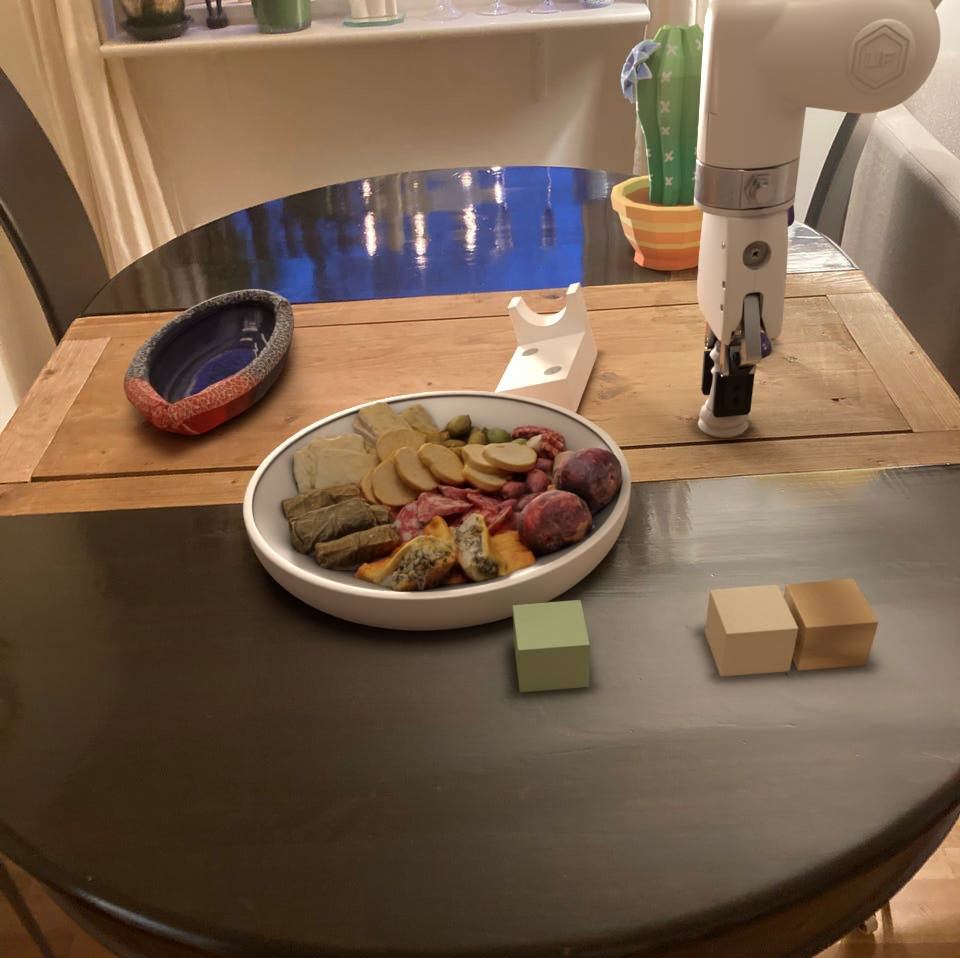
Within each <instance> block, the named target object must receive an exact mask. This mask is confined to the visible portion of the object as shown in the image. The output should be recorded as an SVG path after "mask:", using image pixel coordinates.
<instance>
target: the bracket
mask: <svg viewBox="0 0 960 958" xmlns="http://www.w3.org/2000/svg"><path fill="white" fill-rule="evenodd" d="M565 300H566V304H565V307H564V308H563V309H562V310H561V311H559V312H557V313H555V314H550V315H546V314H545V315H544V314H540V313H537V312H535V311H533V309H531V308H530V307H529V306H527V304H526V302H525V300H524V298H523V296H520V295H519V296H515V297H512V299H511V300H510V302H509V304H508V306H507V307H506V309H507V312H508V315H509V319H510V323H511V325H512V329H513V332H514V335H515V338H516V341H517V345H518V346H517V348H516V350H515V352H514V354H513V356H512V357H511V359H510V362H509V364H508V365H507V367H506V369H505V371H504V373H503V375H502V377H501V378H500V381H499V383H498V385H497V387H496V389H495V390H494V392H497V393H506V394H512V395H519V396H524V397H529V398H533V399H537V400H541V401H545V402H548V403H551V404H554V405H557V406H560V407H563V408H565V409H567V410H570V411H572V412H574V413H576V414H577V411H578V408H579V405H580V402H581V400H582V397H583V394H584V392H585V390H586V387H587V384H588V381H589V379H590V376H591V373H592V370H593V367H594V365H595V362H596V360H597V357H598V354H599V353H598V348H597V344H596V341H595V338H594V334H593V329H592V324H591V322H590V317H589V314H588V309H587V306H586V302H585V298H584V294H583V289H582V285H581V283H580V281H579V282H575V283H571V284H569V286H568V289H567V291H566V293H565Z"/></svg>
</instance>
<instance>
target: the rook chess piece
mask: <svg viewBox="0 0 960 958" xmlns="http://www.w3.org/2000/svg"><path fill="white" fill-rule="evenodd" d="M739 350H741V346H733V347H731V351H730V357H731V356H732V354H733V353H734V352H739ZM710 351H711V350H710ZM720 352H721V341H720V340H718V341H716V344H715V348H714V349H713V350H712V351H711V353H710V356H711V358H712V360H713V361H714V364H715V365H714V367H713V368H712V370H711V372H712V374H713V383H712V387H711V391H710V395H708V398H707V399H706V400H705V402H704V405H702V406H701V409H700V411H699V414H698V416H699V419H698V421H697V425H698V428H699V430H700V431H701V432H702V433H704V434H705V435H706V436H710V437H713V438H717V439H718V438H719V439H730V438H735V437H738V436H740V435H742V434H743V433H744V432H746V430H747V429H748V428H749V424H750V423H749V422H748V419H749V415H750V413H749V414H747V415H739V416H729V417H719V418H716V417H715V416H714V415H713V413H712V408H713V395H714V383H715V372H720Z"/></svg>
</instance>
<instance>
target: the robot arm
mask: <svg viewBox="0 0 960 958" xmlns="http://www.w3.org/2000/svg"><path fill="white" fill-rule="evenodd" d="M942 2H943V0H711V1H710V3H709V6H708V8H707V11H706V14H705V19H704V30H703V33H704V43H703V60H702V76H701V93H700V109H699V127H698V142H697V159H696V176H695V192H694V205H695V207H696V208H697V209H699V210H700V211H703V212H704V214H703V217H702V219H703V222H702V231H701V240H700V250H699V263H698V265H697V266H698V267H697V278H696V279H697V281H696V283H697V284H696V285H697V286H696V288H697V289H696V292H697V293H696V295H697V303H698V307H699V309H700V312H701V313H702V315H703V317H704V319H705V320H706V325H705V332H704V333H705V334H704V348H705V350H704V351H703V359H702V360H703V361H702V370H701V371H702V374H701V385H700V391H701V393H702V395H703V396H710V391H711V387H712V383H713V374H712V372H711V370H712V368H713V367H714V365H715V364H714V361H713V360H712V358H711V356H710V353H711V351H712V350H713V349H714V348H715V344H716V341H718V340H720V341H721V352H720V372H715V383H714V395H713V408H712V413H713V415H714V416H715V417H716V418H719V417H729V416H739V415H747V414H749V415H750V413H751V410H752V401H753V393H754V392H753V391H754V385H755V384H754V382H755V374H756V372H757V364H759V363H761V361H762V357H761V336H760V328H761V329H762V331H761V332H763V333H764V334H765V335H766V336H767V338H768V339H770V341H771V342H773V341H777V340H778V339H779V338H780V336H781V335H782V332H783V331H782V330H783V320H784V310H785V296H786V284H787V269H788V254H789V253H788V251H789V250H788V249H789V248H788V247H789V227H788V217H787V210H786V209H788V208H790V207H791V206H792V205H793V204H794V205H795V201H796V192H797V184H798V176H799V168H800V160H801V151H802V143H803V136H804V127H805V119H806V111H807V108H810V109H818V110H819V109H820V110H826V111H827V110H828V111H833V112H841V113H849V114H861V115H862V114H863V115H864V114H875V113H880V112H881V113H882V112H883V111H887V110H891V109H893V108H895V107H898V106H899V105H901V104H902V103H904V102H906V101H907V100H908V99H910V98H911V97H912V96H914V95H915V94H916V92H918V91H919V90H920V88H921V87H922V86H923V85H924V84H925V83H926V81H927V80H928V78H929V77H930V75H931V73H932V71H933V69H934V67H935V65H936V63H937V60H938V56H939V53H940V47H941V27H940V22H939V21H940V20H939V16H938V14H937V11H936V10H937V9H938V7H939V6H940V5H941V3H942ZM740 333H741V335H740ZM733 346H741V350H739V352H734V353H733V354H732V356H731V357H730V351H731V347H733Z"/></svg>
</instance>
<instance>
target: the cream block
mask: <svg viewBox="0 0 960 958" xmlns="http://www.w3.org/2000/svg"><path fill="white" fill-rule="evenodd" d="M706 611H707V612H706V619H705V628H704V634H705V637H706V640H707V642H708V645H709V649H710V650H711V651H710V652H711V654H712V657H713V660H714V662H715V665H716V668H717V670H718V673H719V676H720V677H731V676H745V675H757V674H758V675H759V674H771V673H782V672H790V670H791V666H792V661H793V659H792V656H793V651H794V646H795V642H796V637H797V632H798V627H797V624H796V622H795V620H794V618H793V616H792V614H791V612H790V610H789V607H788V605H787V603H786V601H785V599H784V594H783V593H782V590H781V588H780V586H779V585H778V584H769V585H768V584H767V585H757V586H756V585H755V586H742V587H731V588H729V587H728V588H717V589H716V588H715V589H710V590H709V595H708V603H707V610H706Z"/></svg>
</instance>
